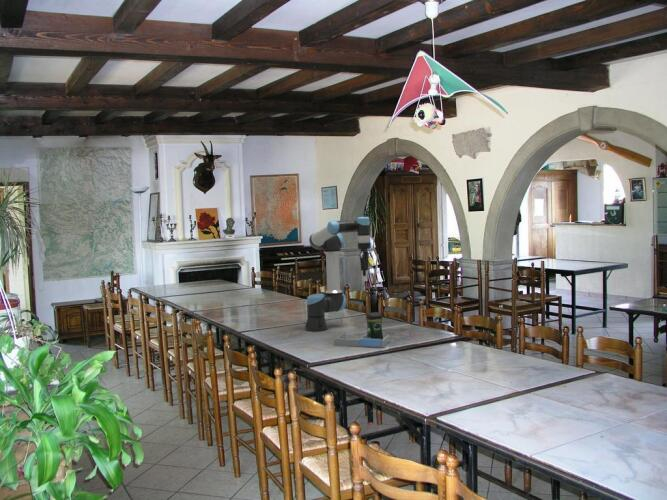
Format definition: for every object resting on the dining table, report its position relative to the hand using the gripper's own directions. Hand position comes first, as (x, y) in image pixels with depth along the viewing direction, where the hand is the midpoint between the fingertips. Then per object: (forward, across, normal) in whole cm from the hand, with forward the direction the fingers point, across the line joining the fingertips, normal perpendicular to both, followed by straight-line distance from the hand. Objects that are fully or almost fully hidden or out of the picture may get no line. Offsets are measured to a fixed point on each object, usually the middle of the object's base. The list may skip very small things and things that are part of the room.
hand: (365, 280), depth 396 cm
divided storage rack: (+36, +10, 0) cm, 38 cm away
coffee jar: (+37, +8, +7) cm, 38 cm away
